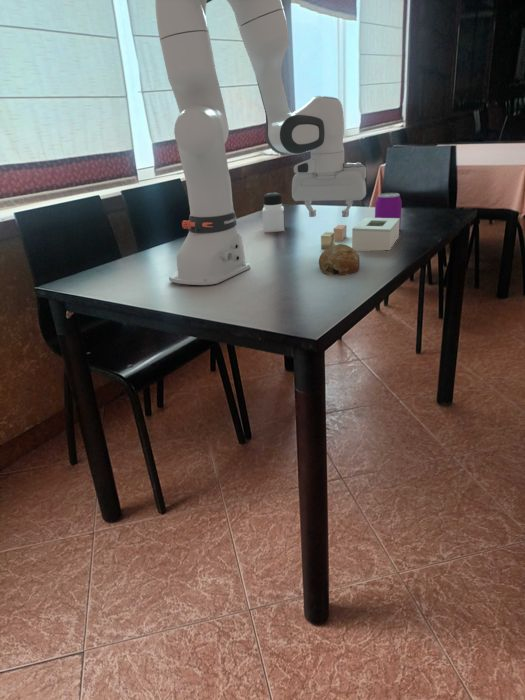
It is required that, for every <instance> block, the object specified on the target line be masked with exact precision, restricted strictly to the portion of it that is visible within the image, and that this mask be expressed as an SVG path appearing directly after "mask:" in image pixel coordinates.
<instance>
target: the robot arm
mask: <svg viewBox="0 0 525 700" xmlns="http://www.w3.org/2000/svg"><path fill="white" fill-rule="evenodd" d="M212 1H213V0H154V5H155V6H154V9H155V17H156V25H157V32H158V37H159V41H160V47H161V51H162V56H163V60H164V65H165V69H166V74H167V79H168V83H169V84H170V87H171V89H172V92H173V96H174V98H175V101H176V105H177V108H178V111H179V114H178V116H177V118H176V120H175V123H174V129H173V130H174V133H173V134H174V139H175V141H176V144H177V146H176V147H177V150H178V154H179V159H180V164H181V167H182V171H183V175H184V179H185V184H186V190H187V196H188V198H187V200H188V205H189V212H190V214H189V217H188V220H186V219H185V220H182V222H181V226H182V227H181V228H183V230H184V229H185V230H188V233H187V236H186V237H185V240H184V241H183V244H182V245H181V247H180V249H179V251H178V253H177V255H176V270H175V271H174V272H173V273H172V274H171V275H169V277H168V280H169V281H170V282H172V283H176V284H179V285H181V284H182V285H192V286H193V285H194V286H195V285H196V286H207V285H215V284H216V285H217V284H219V283H221V282H223V281H226V280H228V279H229V278H232V277H234V276H236V275H239V274H240V273H243V272H245V271H247V270H249V269H251V265H250V263H249V262H247V261H246V256H245V250H244V243H243V238H242V235H241V234H240V233H239V231H238V229H237V227H236V226H237V215H236V211H235V210H234V203H233V191H232V181H231V175H230V169H229V165H228V158H227V152H226V146H225V144H226V143H227V140H228V138H229V135H230V134H229V132H230V131H229V130H230V129H229V123H228V118H227V113H226V109H225V104H224V100H223V94H222V91H221V87H220V82H219V80H218V74H217V69H216V65H215V60H214V53H213V48H212V47H213V46H212V43H211V37H210V36H211V35H210V32H209V26H208V22H207V17H206V16H207V15H206V12H207V11H206V8H207V7H206V6H207V4H208V3H210V2H212ZM226 1H227V3H228V4H229V5H230V8H231V10H232V12H233V13H234V17H235V20H236V24H237V27H238V31H239V34H240V37H241V40H242V43H243V45H244V48H245V50H246V54H247V55H248V58H249V61H250V64H251V66H252V70H253V72H254V74H255V79H256V83H257V87H258V90H259V91H258V92H259V94H260V98H261V102H262V105H263V109H264V112H265V133H264V134H265V140H266V143H267V145H268V147H269V148H270V149H271V150H272V151H274V152H275V153H276V154H279V155H301V154H304V153H306V152H310V158H308V159H305V160H304V161H302V162H300V163H297V164H295V165H294V167H293V172H294V175H293V176H292V181H291V197H292V199H293V200H294V201H295V202H298V201H300V202H301V201H304V206H305V207H306V209H307V211H308V215H309V216H308V217H309V218H314V217H317V209H314V208H313V207H312V205H311V204H313V202H314V201H345V205H346V208H344V209H342V210H341V217H342V218H348V217H349V215H350V209H351V207H352V205H353V204H354V201H361V200H362V201H363V199H364V198H365V197H366V195H367V185H366V178H367V167H366V166H365V165H364V164H362V163H361V162H355V163H354V162H353V163H352V162H346V163H345V147H344V142H343V141H344V136H345V135H344V134H345V120H344V119H345V118H344V110H343V105H342V102H341V101H340V99H338V98H337V97H334V96H328V95H327V96H326V95H317V96H313V97H311V99H309V101H308V102H307V103H306V104H304V105H303V106H301V107H300V108H299V109H296V110H294V111H293V112H292V111H291V109H290V107H289V104H288V99H287V96H286V95H287V94H286V91H285V87H284V82H283V78H282V65H283V61H284V58H285V55H286V53H287V51H288V48H289V43H290V35H289V29H288V28H289V27H288V22H287V21H288V20H287V17H286V14H285V13H286V12H285V9H284V6H283V3H282V0H226Z"/></svg>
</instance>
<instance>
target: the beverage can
mask: <svg viewBox="0 0 525 700" xmlns="http://www.w3.org/2000/svg"><path fill="white" fill-rule="evenodd" d="M374 204H375V205H374V218H400V224H399V230H400V231H401V222H402V221H401V220H402V207H403V206H402V205H403V203H402V199H401V195H400V193H398V192H384V193H379V194H378V195H377V198H376V199H375V203H374Z"/></svg>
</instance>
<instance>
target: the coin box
mask: <svg viewBox="0 0 525 700" xmlns="http://www.w3.org/2000/svg"><path fill="white" fill-rule="evenodd" d="M399 224H400V218H375V217H363V218H362V219H361V220H360V221H359V222H358V223H356V225H354V226H353V227H352V229H351V230H352V238H351V244H352V245H351V248H353V249H354V250H355V251H356V252H371V251H370V250H390V249H392V248H393V247H394V245H395V244H396V243H395V241H396V240H397V239H398V240H399V238H400V237H399V236H400V231H399ZM398 237H399V238H398ZM398 240H397V241H398ZM397 241H396V242H397ZM394 243H395V244H394ZM393 244H394V245H393ZM392 246H393V247H392ZM391 247H392V248H391ZM390 251H391V250H390Z"/></svg>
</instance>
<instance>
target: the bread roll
mask: <svg viewBox="0 0 525 700" xmlns="http://www.w3.org/2000/svg"><path fill="white" fill-rule="evenodd" d="M318 266H319V270H320V271H321V273H322V274H325V275H327V276H329V275H333V276H347V275H346V274H349V275H352V273H353V274H355V272H356V273H357V272H359V270H360V255H359V252H358V251H355V250H354V249H353V248H352V246H349V245H346V244H342V243H338V244H335V245H334V246H333V247H331V248H329V249H323V251H322V252H321V254H320V255H319V259H318Z"/></svg>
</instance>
